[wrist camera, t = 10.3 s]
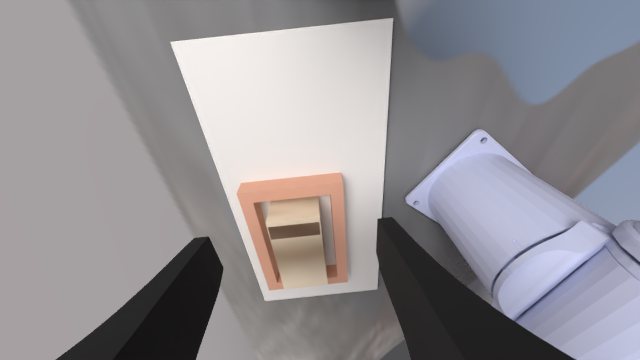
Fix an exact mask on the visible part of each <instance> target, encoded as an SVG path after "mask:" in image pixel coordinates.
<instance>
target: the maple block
mask: <svg viewBox="0 0 640 360" xmlns="http://www.w3.org/2000/svg"><path fill="white" fill-rule="evenodd" d="M266 227H267V230H268V234H269V237H270V241H271V244H272V248H273V252H274V255H275V259H276V262H277V266H278V269H279V273H280V276H281V280H282V283H283V287H284V289H292V288H301V287H311V286H321V285H328V281H327V270H326V259H325V250H324V242H323V233H322V225H321V216H320V208H319V199H318V196H313V197H303V198H294V199H285V200H275V201H270V205H269V209H268V214H267V219H266Z"/></svg>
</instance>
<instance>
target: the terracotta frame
mask: <svg viewBox="0 0 640 360" xmlns="http://www.w3.org/2000/svg"><path fill="white" fill-rule="evenodd" d="M322 195H330V201H331V213H332V225H333V236H334V248H335V260H336V264H335V265H326V270H327V281H328V284H335V283H345V282H348V273H347V253H346V232H345V211H344V190H343V180H342V176H341V172H339V173H329V174H320V175H311V176H301V177H292V178H282V179H273V180H264V181H254V182H245V183H241V184H240V187H239V189H238V191H237V197H238V199H239V202H240V205H241V208H242V211H243V214H244V217H245V220H246V223H247V226H248V229H249V232H250V235H251V238H252V241H253V244H254V247H255V250H256V253H257V256H258V259H259V262H260V265H261V268H262V271H263V273H264V276H265V279H266V282H267V285H268V288H269V290H278V289H284V287H283V283H282V280H281V276H280V273H279V270H278V266H277V263H276V259H275V256H274V252H273V249H272V245H271V242H270V238H269V234H268V231H267V227H266V224H265V220H264V217H263V213H262V210H261V206H260V203H259V202H266V201H275V200H285V199H294V198H303V197H313V196H322Z"/></svg>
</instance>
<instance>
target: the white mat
mask: <svg viewBox="0 0 640 360" xmlns="http://www.w3.org/2000/svg"><path fill="white" fill-rule="evenodd" d="M392 30H393V18H388V19H379V20H369V21H360V22H351V23H342V24H332V25H323V26H314V27H305V28H295V29H286V30H277V31H268V32H258V33H249V34H240V35H231V36H221V37H212V38H203V39H193V40H184V41H175V42H171V45H172V48H173V50H174V53H175V56H176V59H177V61H178V64H179V67H180V69H181V72H182V75H183V78H184V80H185V83H186V86H187V89H188V91H189V94H190V97H191V100H192V102H193V105H194V108H195V110H196V113H197V116H198V119H199V121H200V124H201V127H202V130H203V132H204V135H205V138H206V140H207V143H208V146H209V149H210V151H211V154H212V157H213V160H214V162H215V165H216V168H217V170H218V173H219V176H220V179H221V181H222V184H223V187H224V190H225V192H226V195H227V198H228V200H229V203H230V206H231V209H232V211H233V214H234V217H235V220H236V222H237V225H238V228H239V231H240V233H241V236H242V239H243V241H244V244H245V247H246V250H247V252H248V255H249V258H250V261H251V263H252V266H253V269H254V271H255V274H256V277H257V280H258V282H259V285H260V288H261V291H262V293H263V296H264V299H265V301H271V300H281V299H290V298H300V297H309V296H319V295H328V294H338V293H347V292H357V291H366V290H376V289H377V286H378V269H379V263H378V258H377V254H376V240H377V219H379V218H382V201H383V184H384V167H385V149H386V132H387V115H388V98H389V81H390V64H391V47H392ZM339 172H341V176H342V180H343V190H344V211H345V232H346V253H347V273H348V282H345V283H335V284H328V285H321V286H311V287H301V288H292V289H278V290H269V288H268V285H267V282H266V279H265V276H264V273H263V271H262V268H261V265H260V262H259V259H258V256H257V253H256V250H255V247H254V244H253V241H252V238H251V235H250V232H249V229H248V226H247V223H246V220H245V217H244V214H243V211H242V208H241V205H240V202H239V199H238V197H237V191H238V189H239V187H240V184H241V183H245V182H254V181H264V180H273V179H282V178H292V177H301V176H311V175H320V174H329V173H339ZM318 199H319V208H320V216H321V225H322V233H323V242H324V250H325V259H326V265H335V264H336V260H335V248H334V236H333V225H332V213H331V201H330V195H322V196H318ZM259 203H260V206H261V210H262V213H263V217H264V220H265V224H266V219H267V214H268V209H269V205H270V201H266V202H259ZM267 231H268V230H267ZM269 238H270V237H269ZM270 242H271V241H270ZM271 245H272V244H271ZM272 249H273V248H272ZM274 256H275V255H274ZM276 263H277V262H276ZM278 270H279V269H278Z"/></svg>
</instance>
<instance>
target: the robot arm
mask: <svg viewBox="0 0 640 360" xmlns="http://www.w3.org/2000/svg"><path fill="white" fill-rule="evenodd" d="M482 138H484V139H483V141H481V139H482ZM480 141H481V142H480ZM405 201H406V203H407V204H408V205H410V206H412V207H413V208H415V209H416V210H418V211H420V212H421V213H423V214H425V215H426V216H428V217H429V218H431V219H433V220H434V221H436V222H438V223H439V224H440V225H441V226H442V227H443V229H444V230H445V232H446V233H447V234H448V236H449V237H450V239H451V240H452V241H453V243H454V244H455V246H456V247H457V248H458V250H459V251H460V253H461V254H462V255H463V257H464V258H465V260H466V261H467V263H468V264H469V265H470V267H471V268H472V270H473V271H474V272H475V274H476V275H477V277H478V278H479V279H480V281H481V282H482V284H483V285H484V286H485V288H486V289H487V290H488V292H489V293H490V295H491V296H492V298H493V302H492V304H491V305H490V304H489V303H487V302H486V301H484V300H483V299H482V298H480V297H479V296H478V295H476V294H475V293H474V292H473V291H471V290H470V289H469V288H467V287H466V286H465V285H464V284H462V283H461V282H460V281H459V280H457V279H456V278H455V277H454V276H453V275H451V274H450V273H449V272H448V271H447V270H446V269H444V268H443V267H442V266H441V265H440V264H439V263H438V262H437V261H435V260H434V259H433V258H432V257H431V256H430V255H429V254H428V253H427V252H426V251H425V250H424V249H423V248H422V247H421V246H420V245H419V244H418V243H417V242H415V241H414V239H413V238H412V237H411V236H410V235H409V234H408V233H407V232H406V231H405V230H404V229H403V228H402V227H401V226H400V225H399V224H398V223H397V222H396V221H395V219H393V218H392V217H389V218H379V219H377V240H376V254H377V258H378V263H379V266H380V270H381V274H382V277H383V280H384V282H385V285H386V288H387V291H388V293H389V296H390V299H391V301H392V304H393V306H394V309H395V312H396V314H397V317H398V320H399V322H400V325H401V328H402V331H403V334H404V337H405V340H406V343H407V346H408V350H409V353H410V357H411V360H640V221H637V220H626V221H623V222H622V223H620V224H619V225H618V226H615V225H614V224H612V223H610V222H609V221H607V220H605V219H604V218H602V217H601V216H599V215H597V214H595V213H594V212H592V211H591V210H589V209H588V208H586V207H584V206H583V205H581V204H580V203H578V202H576V201H575V200H573V199H571V198H570V197H568V196H567V195H565V194H563V193H562V192H560V191H558V190H557V189H555V188H554V187H552V186H550V185H549V184H547V183H545V182H544V181H542V180H541V179H539V178H537V177H536V176H534V175H533V174H532V173H531V172H530V171H528V170H527V169H526V168H525V167H524V166H523V165H522V164H521V163H520V162H518V161H517V160H516V159H515V158H514V157H513V156H512V155H511V154H510V153H509V152H507V151H506V150H505V149H504V148H503V147H502V146H501V145H500V144H499V143H497V142H496V141H495V140H494V139H493V138H492V137H491V136H490V135H489V134H488V133H486V132H485V131H483V130H481V129H478V130H475V131H474V132H473V133H472V134H471V135H470V136H469V137H467V138H466V139H465V140H464V141H463V142H462V143H461V144H460V145H459V146H458V147H457V148H456V149H455V150H454V151H453V152H452V153H451V154H450V155H449V156H448V157H447V158H446V159H445V160H444V161H443V162H441V163H440V164H439V165H438V166H437V167H436V168H435V169H434V170H433V171H432V172H431V173H430V174H429V175H428V176H427V177H426V178H425V179H424V180H423V181H422V182H421V183H420V184H419V185H418V186H417V187H415V188H414V189H413V190H412V191H411V192H410V193H409V194H408V195H407V196H406V198H405ZM415 201H417V202H415ZM414 202H415V203H414ZM222 273H223V266H222V264H221V262H220V260H219V257H218V255H217V253H216V251H215V249H214V247H213V245H212V242H211V240H210V238H209V237H200V238H194V239H193V240H192V241H191V242H190V243H189V244H188V245H187V246H186V247H184V248H183V249H182V250H181V251H180V253H178V254H177V255H176V256H175V257H174V258H173V259H172V260H171V261H170V262H169V263H168V265H166V267H164V268H163V269H162V270H161V271H160V272H159V273H158V274H157V275H156V276H155V277H154V278H153V279H152V280H151V281H150V282H149V283H148V284H147V285H146V286H144V287H143V288H142V289H141V290H140V291H139V292H138V293H137V294H136V295H135V296H133V297H132V298H131V299H130V300H129V301H128V302H127V303H126V304H125V305H124V306H123V307H121V308H120V309H119V310H118V311H117V312H116V313H114V314H113V315H112V316H111V317H110V318H109V319H108V320H106V321H105V322H104V323H102V324H101V325H100V326H99V327H98V328H96V329H95V330H94V331H93V332H91V333H90V334H89V335H88V336H86V337H85V338H84V339H83V340H81V341H80V342H79V343H78V344H76V345H75V346H74V347H72V348H71V349H70V350H68V351H67V352H65V353H64V354H63V355H61V356H60V357H59V358H57V359H56V360H196V357H197V354H198V351H199V347H200V345H201V342H202V339H203V336H204V333H205V330H206V327H207V325H208V322H209V319H210V316H211V313H212V310H213V307H214V304H215V301H216V298H217V295H218V292H219V288H220V283H221V278H222Z"/></svg>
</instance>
